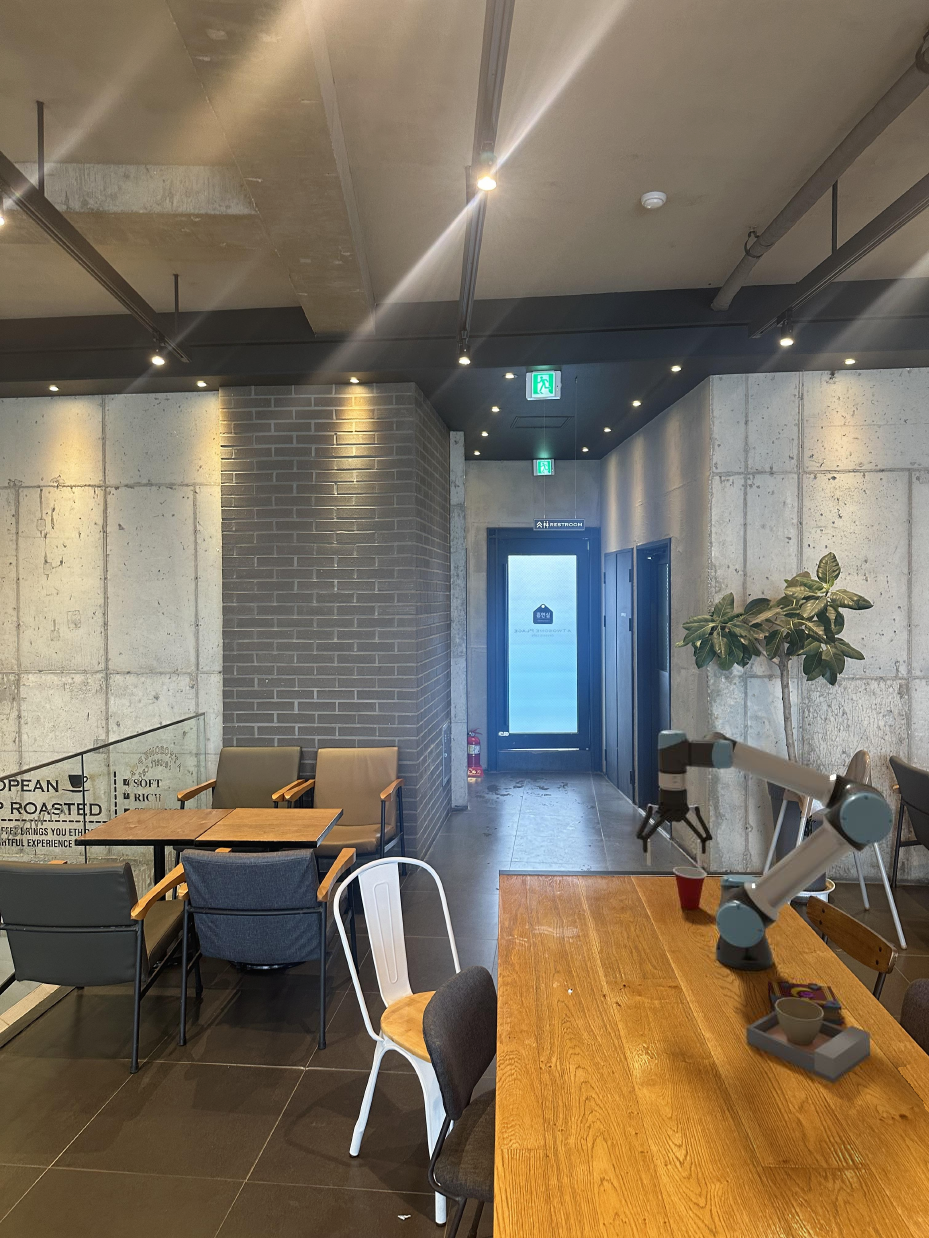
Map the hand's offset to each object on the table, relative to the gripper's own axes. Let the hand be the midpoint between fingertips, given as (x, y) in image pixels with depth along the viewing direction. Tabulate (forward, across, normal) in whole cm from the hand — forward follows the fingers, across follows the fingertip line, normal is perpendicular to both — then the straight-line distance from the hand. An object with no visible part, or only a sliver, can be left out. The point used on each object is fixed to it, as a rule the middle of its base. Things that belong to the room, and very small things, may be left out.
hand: (674, 865), depth 215 cm
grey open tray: (+29, +23, -38) cm, 53 cm away
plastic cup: (+29, +11, +48) cm, 57 cm away
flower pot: (+28, +22, -36) cm, 51 cm away
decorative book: (+29, +28, -20) cm, 45 cm away
